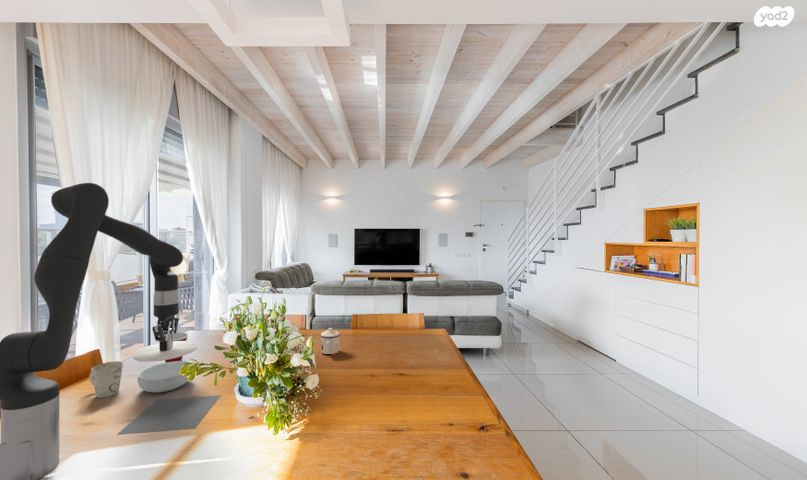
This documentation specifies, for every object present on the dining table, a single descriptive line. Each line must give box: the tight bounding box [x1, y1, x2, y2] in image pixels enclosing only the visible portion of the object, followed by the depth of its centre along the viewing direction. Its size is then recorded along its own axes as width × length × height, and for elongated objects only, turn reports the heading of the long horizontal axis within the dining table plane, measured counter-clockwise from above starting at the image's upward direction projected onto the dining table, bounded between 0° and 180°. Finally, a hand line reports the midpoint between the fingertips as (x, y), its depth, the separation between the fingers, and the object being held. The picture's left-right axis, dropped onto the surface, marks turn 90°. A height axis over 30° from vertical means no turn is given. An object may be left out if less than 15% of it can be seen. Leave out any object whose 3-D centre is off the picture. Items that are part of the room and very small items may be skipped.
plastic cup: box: [164, 331, 190, 363], centre depth 147 cm, size 11×11×12 cm
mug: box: [88, 360, 124, 399], centre depth 118 cm, size 8×13×10 cm, turn 79°
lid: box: [132, 334, 198, 363], centre depth 122 cm, size 19×19×6 cm
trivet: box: [116, 395, 221, 435], centre depth 105 cm, size 20×20×1 cm
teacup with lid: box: [320, 327, 341, 354], centre depth 160 cm, size 12×9×12 cm
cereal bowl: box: [137, 360, 194, 393], centre depth 122 cm, size 17×17×7 cm
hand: (166, 348), depth 122 cm, fingers closed on lid, 3 cm apart
